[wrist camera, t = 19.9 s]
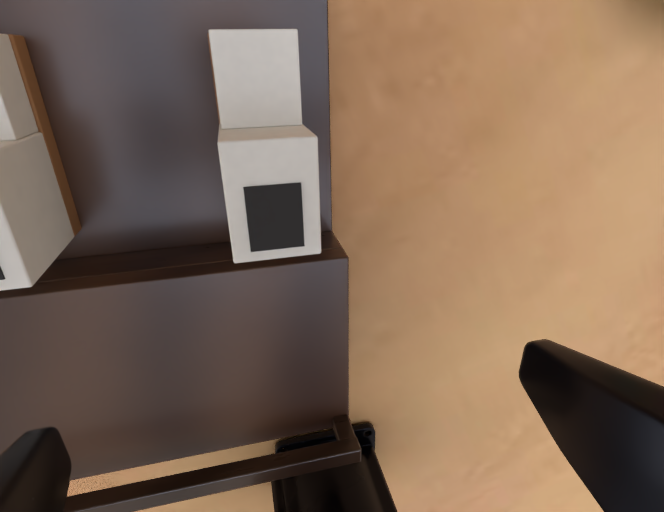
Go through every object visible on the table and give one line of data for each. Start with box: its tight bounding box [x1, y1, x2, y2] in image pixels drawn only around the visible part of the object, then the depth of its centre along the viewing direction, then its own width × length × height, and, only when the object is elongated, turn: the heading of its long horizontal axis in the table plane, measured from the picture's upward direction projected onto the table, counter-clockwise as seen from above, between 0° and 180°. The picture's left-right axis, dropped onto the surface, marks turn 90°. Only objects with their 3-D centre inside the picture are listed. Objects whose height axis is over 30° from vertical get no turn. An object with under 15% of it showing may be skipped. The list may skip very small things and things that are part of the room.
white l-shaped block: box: [207, 29, 321, 263], centre depth 15 cm, size 7×3×5 cm, turn 0°
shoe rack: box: [0, 0, 361, 512], centre depth 16 cm, size 15×19×6 cm
